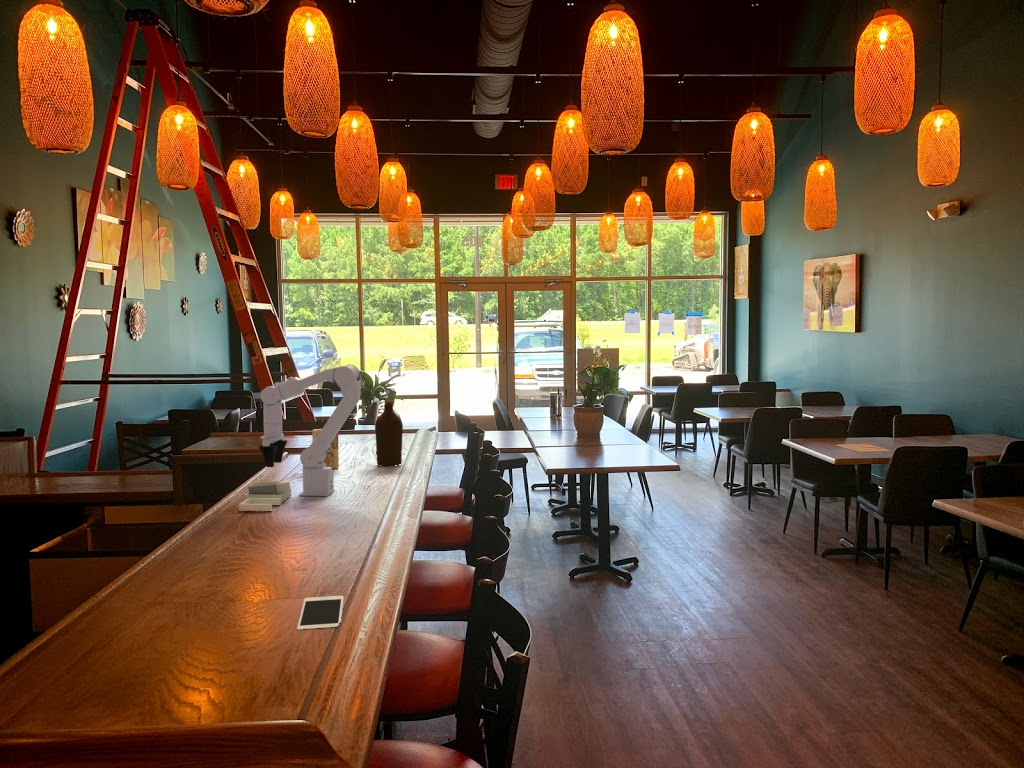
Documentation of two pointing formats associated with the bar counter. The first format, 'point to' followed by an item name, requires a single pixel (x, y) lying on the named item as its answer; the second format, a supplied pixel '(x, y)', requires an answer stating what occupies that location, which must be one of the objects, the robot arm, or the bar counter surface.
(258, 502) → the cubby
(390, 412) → the olive oil
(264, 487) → the block on a stick
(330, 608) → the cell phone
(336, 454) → the candy box
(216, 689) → the bar counter surface
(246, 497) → the tray
